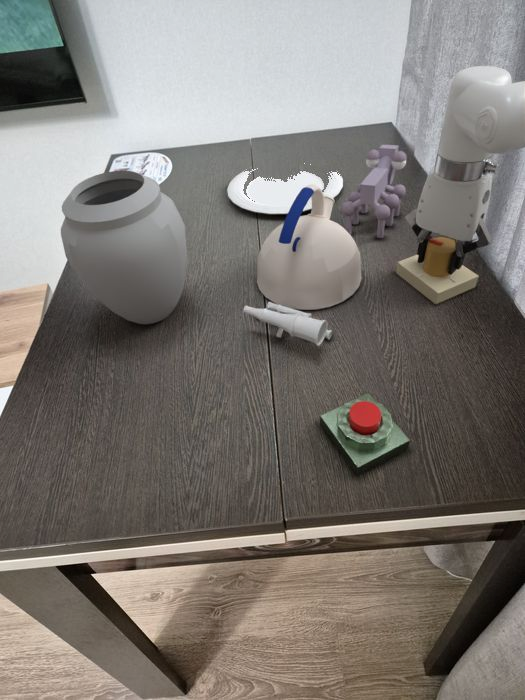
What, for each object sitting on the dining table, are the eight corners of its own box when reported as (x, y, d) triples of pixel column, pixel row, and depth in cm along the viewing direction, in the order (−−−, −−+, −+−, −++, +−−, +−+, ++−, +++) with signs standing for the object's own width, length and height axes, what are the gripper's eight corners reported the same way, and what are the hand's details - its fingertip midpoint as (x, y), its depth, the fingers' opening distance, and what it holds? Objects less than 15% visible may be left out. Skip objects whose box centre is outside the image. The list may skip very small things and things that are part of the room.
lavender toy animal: (369, 193, 106) (374, 134, 97) (413, 200, 102) (423, 139, 92) (336, 234, 95) (339, 172, 85) (384, 244, 91) (393, 180, 81)
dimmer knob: (456, 266, 79) (463, 241, 75) (442, 280, 77) (449, 254, 73) (431, 257, 82) (436, 232, 78) (417, 270, 80) (422, 245, 76)
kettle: (375, 257, 88) (385, 168, 75) (340, 322, 76) (345, 230, 63) (283, 240, 95) (278, 156, 82) (238, 297, 83) (223, 209, 70)
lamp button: (386, 426, 56) (388, 418, 55) (360, 439, 55) (361, 431, 54) (368, 404, 59) (369, 396, 58) (342, 416, 58) (343, 408, 57)
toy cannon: (255, 328, 79) (263, 299, 79) (326, 351, 74) (336, 321, 73) (234, 324, 72) (244, 293, 71) (312, 350, 66) (323, 316, 66)
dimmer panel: (475, 287, 79) (479, 275, 77) (435, 304, 77) (438, 292, 75) (433, 257, 86) (436, 246, 84) (395, 273, 84) (397, 261, 82)
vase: (101, 291, 88) (48, 172, 71) (196, 270, 90) (167, 150, 73) (98, 358, 75) (32, 232, 57) (210, 332, 77) (178, 203, 59)
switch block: (407, 449, 58) (412, 432, 55) (356, 476, 56) (358, 460, 53) (367, 401, 63) (369, 384, 61) (319, 424, 62) (319, 407, 59)
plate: (350, 215, 100) (351, 207, 99) (224, 225, 102) (223, 217, 101) (336, 161, 120) (336, 154, 119) (231, 171, 122) (230, 164, 121)
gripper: (530, 168, 63) (494, 271, 76) (422, 144, 72) (406, 240, 85) (509, 188, 60) (474, 293, 73) (397, 161, 69) (385, 258, 82)
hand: (438, 264), depth 79 cm, fingers closed on dimmer knob, 5 cm apart
